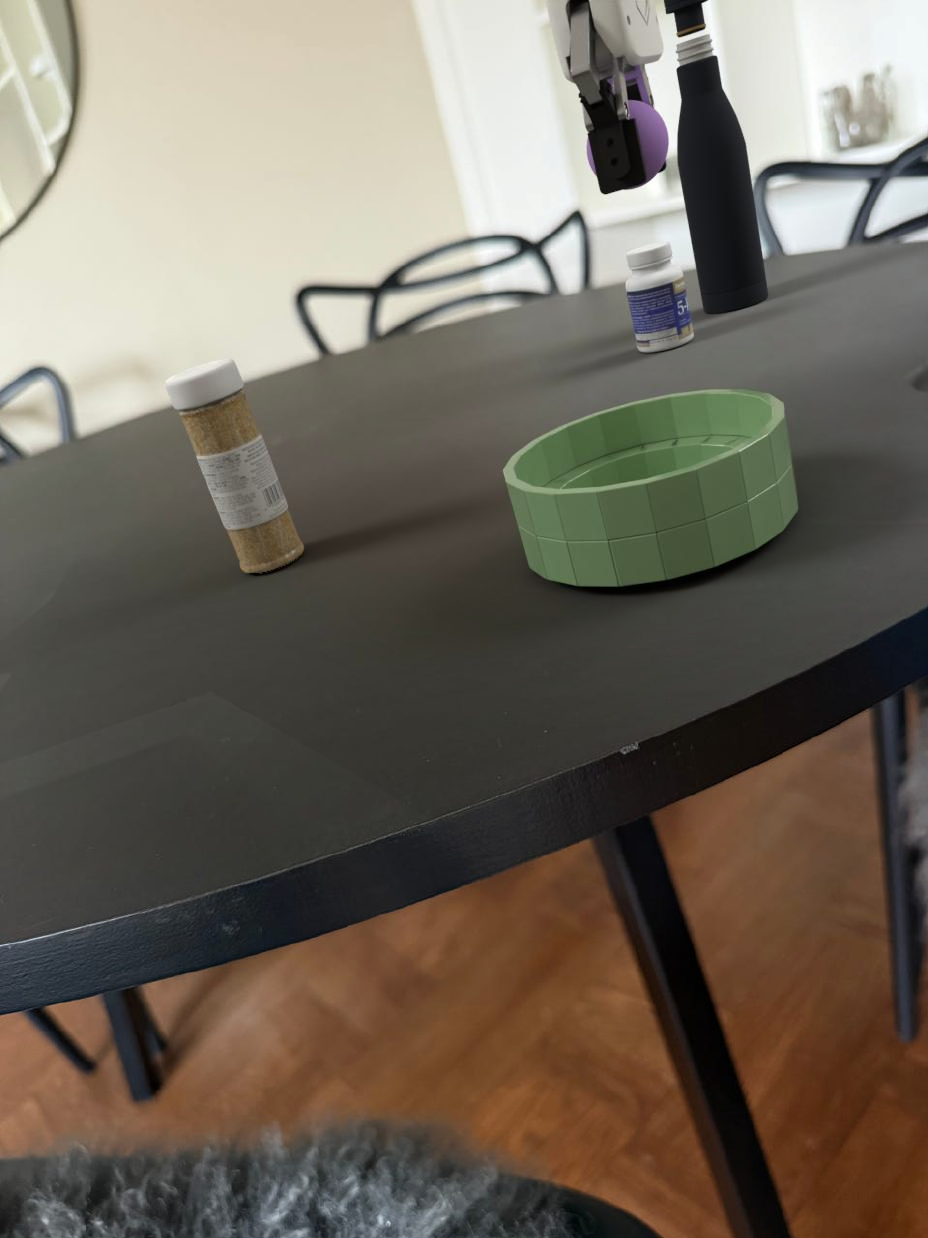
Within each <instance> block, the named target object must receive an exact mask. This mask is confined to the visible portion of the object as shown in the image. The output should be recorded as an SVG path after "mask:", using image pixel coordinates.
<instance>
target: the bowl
mask: <svg viewBox="0 0 928 1238" xmlns="http://www.w3.org/2000/svg"><path fill="white" fill-rule="evenodd" d="M791 447H792V446H791V441H790V433H789V427H788V420H787V414H786V406H785V403H784V401H782V400H780V399H778V398H777V397H776V396H774V395H772V394H771V393H768V392H761V391H756V390H750V389H745V388H730V389H729V388H726V389H724V388H723V389H720V388H719V389H717V388H716V389H715V388H713V389H712V388H711V389H701V390H694V391H693V390H692V391H683V392H676V393H670V394H664V395H659V396H655V397H650V398H646V399H641V400H635V401H632V402H628V403H625V404H621V405H618V406H614V407H611V408H607V409H604V410H600V411H597V412H594V413H592V414H588V415H586V416H583V417H581V418H578V419H576V420H573V421H570V422H568V423H565V424H562V425H560V426H557V427H556V428H554V429H551V430H550V431H548V432H546V433H544V434H542V435H541V436H540V435H539V436H538V437H537V438H535V439H533V440H531V441H530V442H528V443H527V444H525V446H523V447H522V448H521V449H519V450H517V452H515V453H514V454H513V455H512V456H511V457H510V458H509V460H508V462H507V463H506V464H505V466H504V468H503V470H502V474H503V477H504V481H505V485H506V487H507V491H508V496H509V498H510V502H511V506H512V509H513V513H514V517H515V520H516V524H517V527H518V531H519V535H520V539H521V542H522V546H523V549H524V553H525V556H526V557H525V558H526V561H527V564H528V567H529V569H530V570H531V571H533V572H535V573H536V574H537V575H539V576H541V577H542V578H544V579H545V580H547V581H551V582H556V583H561V584H565V585H570V586H575V587H584V588H585V587H589V588H590V587H592V588H594V587H597V588H598V587H599V588H603V587H604V588H605V587H606V588H609V587H610V588H618V587H628V586H635V585H642V584H650V583H657V582H663V581H670V580H672V579H676V578H680V577H684V576H688V575H691V574H695V573H698V572H702V571H706V570H710V569H713V568H716V567H719V566H721V565H724V564H725V563H728V562H730V561H732V560H735V559H737V558H739V557H742V556H744V555H747V554H749V553H751V552H754V551H755V550H757V549H760V547H762V546H763V545H765V544H766V543H767V542H769V541H771V540H772V539H773V538H775V537H777V536H778V535H779V534H781V533H783V531H784V530H785V529H786V528H787V526H788V525H789V524H790V522H791V521H792V520H793V518H794V517H795V515H796V514H797V513H798V511H799V497H798V496H799V494H798V487H797V480H796V473H795V468H794V461H793V455H792V448H791Z"/></svg>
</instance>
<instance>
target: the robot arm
mask: <svg viewBox="0 0 928 1238" xmlns="http://www.w3.org/2000/svg"><path fill="white" fill-rule="evenodd" d="M545 4H546V5H545V6H546V9H547V14H548V19H549V24H550V29H551V32H552V33H551V34H552V37H553V41H554V47H555V49H556V53H557V57H558V60H559V65H560V67H561V68H560V69H561V71H562V74H563V76H564V77H565V79H566V80H567V81H568V82H570V83H572V84H575V85H576V88H577V89H578V91H579V92H578V99H580V100H579V102H580V104H581V107H582V115H583V116H582V117H583V122H584V126H585V129H586V131H587V139H589V143H590V148H591V152H592V157H593V161H594V166H595V170H596V175H597V176H596V175H595V176H596V179H597V184H598V188H599V191H600V193H601V194H602V195H609V194H613V193H616V192H617V193H618V192H620V191H624V190H623V189H627V188H630V187H634V186H637V185H641V184H643V183H644V182H646V180H647V172H646V167H645V162H644V157H643V152H642V147H641V142H640V137H639V132H638V127H637V122H636V118H632V119H629V116H630V115H629V106H628V100H636V101H641V102H644V103H646V104H648V105H650V106H651V107H653V108H654V109H655V100H654V97H653V96H654V95H653V93H652V89H651V86H650V81H649V76H648V74H647V71H646V65H647V64H648V65H649V64H654V63H655V62H659V60H660V59H661V57H662V56H663V54H664V49H665V48H664V42H663V37H662V32H661V28H660V24H659V20H658V15H657V11H656V7H655V2H654V0H545ZM666 159H667V158H666ZM666 159H665V162H664V164H663V166H662V168H661V169H660V171H659V172H658V173H657V174H661V173H663V172H664V171H665V170H666V169H667V160H666Z"/></svg>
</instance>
